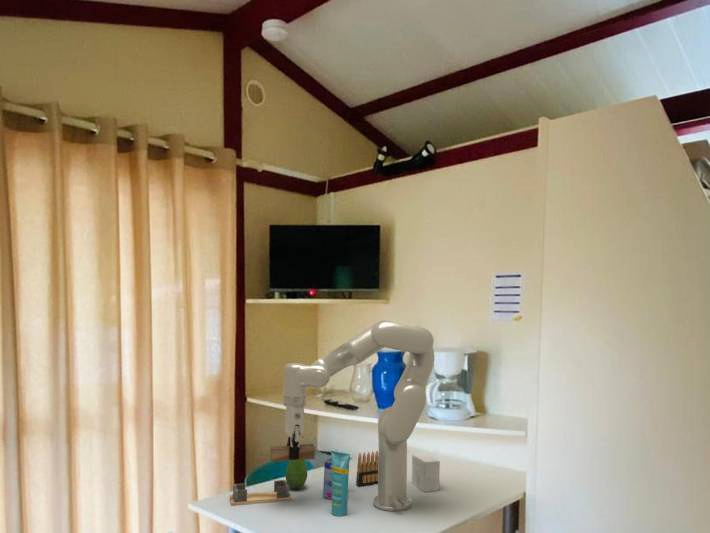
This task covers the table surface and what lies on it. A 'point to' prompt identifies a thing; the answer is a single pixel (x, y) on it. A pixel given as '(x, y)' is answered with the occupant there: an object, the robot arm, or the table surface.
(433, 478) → the skincare box
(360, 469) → the ammunition clip
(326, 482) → the ink cartridge box
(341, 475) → the tube
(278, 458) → the slat
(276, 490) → the rail
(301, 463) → the avocado
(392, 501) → the robot arm
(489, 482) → the table surface
